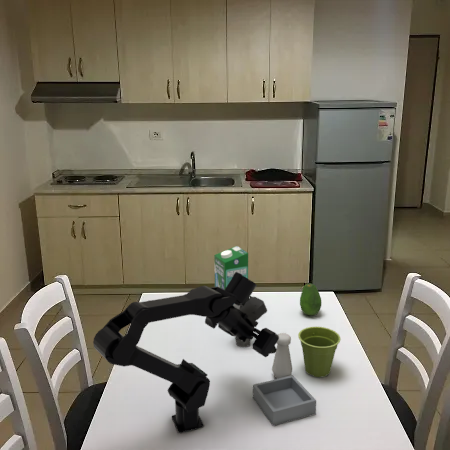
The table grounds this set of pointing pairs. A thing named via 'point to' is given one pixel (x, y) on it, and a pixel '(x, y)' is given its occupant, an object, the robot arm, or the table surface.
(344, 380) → the table surface
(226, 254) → the milk carton
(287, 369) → the salt shaker
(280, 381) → the box
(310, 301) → the avocado
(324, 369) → the plant pot
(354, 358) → the table surface
